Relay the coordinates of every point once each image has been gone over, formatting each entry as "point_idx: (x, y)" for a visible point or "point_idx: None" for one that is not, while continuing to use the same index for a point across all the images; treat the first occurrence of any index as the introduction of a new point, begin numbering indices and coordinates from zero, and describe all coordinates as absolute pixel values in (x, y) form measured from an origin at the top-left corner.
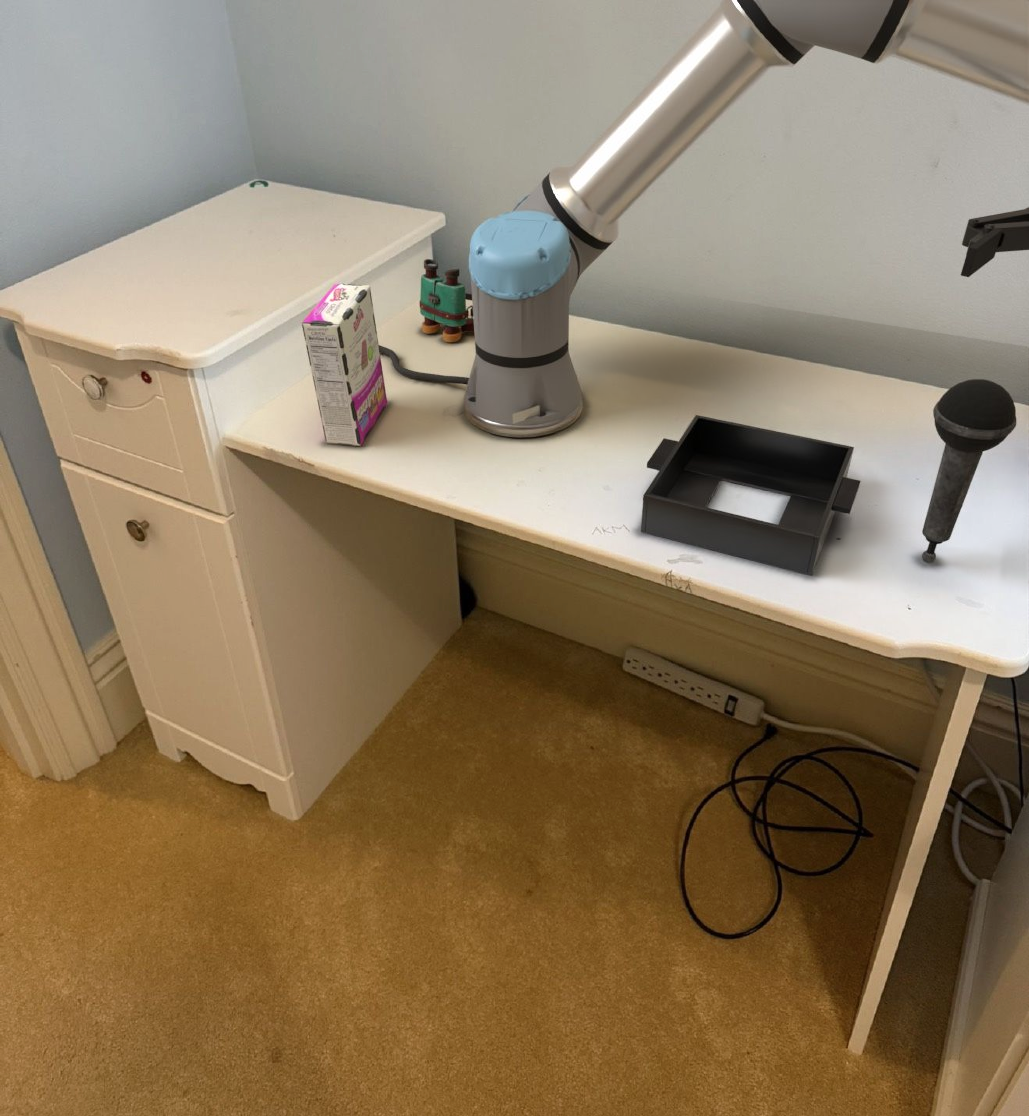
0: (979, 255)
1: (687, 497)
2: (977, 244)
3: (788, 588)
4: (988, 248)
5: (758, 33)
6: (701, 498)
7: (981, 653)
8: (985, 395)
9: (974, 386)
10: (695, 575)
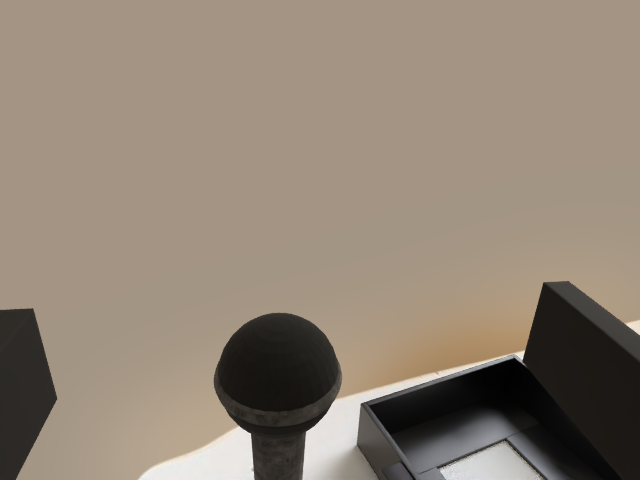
0: (567, 345)
1: (547, 451)
2: (584, 303)
3: (357, 417)
4: (638, 412)
5: None
6: (540, 461)
7: (165, 462)
8: (264, 315)
9: (288, 317)
10: (421, 381)
